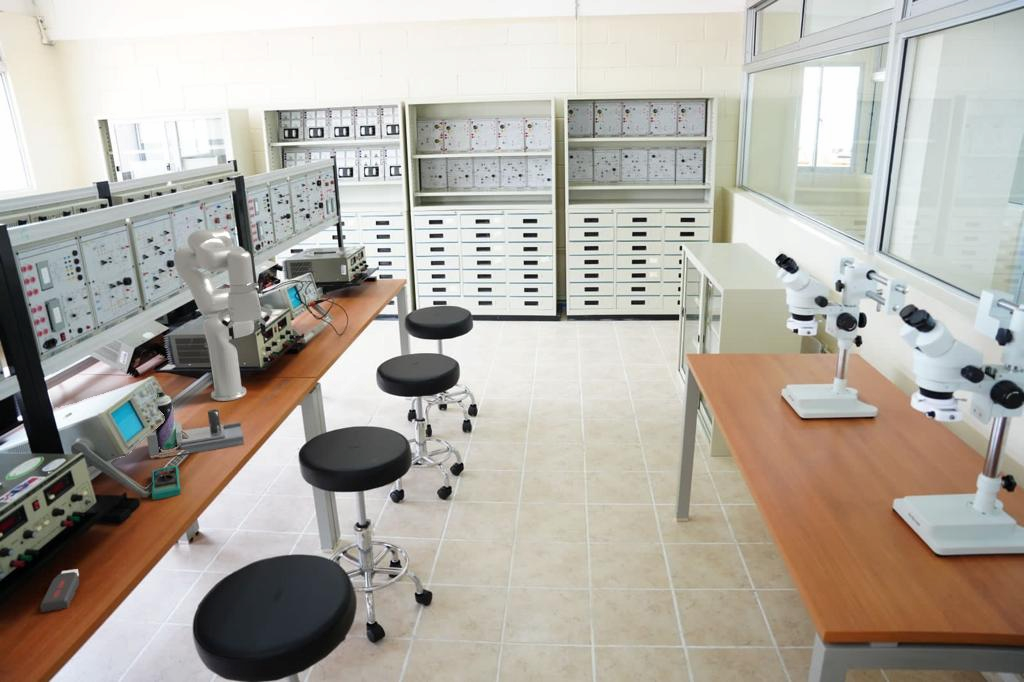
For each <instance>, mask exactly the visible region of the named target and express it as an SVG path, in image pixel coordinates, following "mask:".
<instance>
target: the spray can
mask: <svg viewBox="0 0 1024 682" xmlns="http://www.w3.org/2000/svg"><path fill="white" fill-rule="evenodd" d="M156 395H157V397H156V396H155V397H156V401H155V403H156V404H157V406H158V409H159V410H160V411H161V412H162V413H163V414H164V416H165V421H164V423H163V424H161V425H160V426H159V427H158V428H157V429H156V430H157V436H158V441H159V447H160V449H162V450H169V449H173V448H175V447H177V446H178V445H177V439H176V433H175V431H174V430H175V428H176V421H175V415H174V408H173V403H172V399H171V396H170V395H167V394H165V393H164V391H161V390H158V391H157V392H156Z"/></svg>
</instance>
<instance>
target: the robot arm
mask: <svg viewBox="0 0 1024 682" xmlns="http://www.w3.org/2000/svg"><path fill="white" fill-rule="evenodd" d="M232 243H233V241H232V236H231V234H230V232H228V230H226V229H224V228H222V227H221V228H219V227H218V228H217V227H216V228H208V229H200V230H194V231H193V232H191V234H189V236H188V237H187V245H188V246H187V247H183V248H182V247H181V248H180V249H177V250H176V251H175V252H174V254H173V264H174V267H175V270H176V272H177V274H178V275H179V277H180V278H181V280H182V281H183V282H184V283H185V284H186V286H187V287H188V289H189V291H190V292H191V295H192V298H193V300H194V302H195V304H196V306H197V308H198V309H197V310H198V311H199V313H201V315H203V316H204V317H207V319H205V320H204V322H203V323H202V324H203V325H202V328H203V333H204V336H205V339H206V342H207V345H208V351H209V352H208V353H209V359H210V365H211V366H210V367H211V371H212V372H211V374H212V379H213V387H214V390H213V391H211V393H210V397H211V399H212V400H214V401H218V402H228V401H235V400H237V399H241V398H242V397H244V396H245V395H247V389H246V387H244V386H242V379H241V371H240V363H239V355H238V350H237V347H236V346H235V345H233V343H231V342H230V340H234V339H237V338H242V337H246V336H249V335H252V333H254V331H255V323H254V321H258V322H259V327H260V332H261V333H260V334H261V336H263V337H264V336H265V334H266V332H267V331H266V323H267V322H268V321H269V320H270V319H271V316H272V314H273V310H272V309H269V308H267V307H264V306H261V302H260V298H259V293H258V290H257V288H259V283H258V282H257V283H256V282H254V274H253V273H254V272H253V263H252V257H251V254H250V252H249V251H248V250H247V251H246V250H245V248H243V247H242V246H240V245H239V246H237V245H236V246H234V245H233V244H232ZM199 269H203V270H205V271H207V272H209V273H215V272H216V273H218V272H222V271H223V272H224V271H227V273H228V281H229V287H225V288H219V289H218V288H216V286H215V283H214V281H213V280H212V278H211V277H210V276H208V275H207V274H206V273H204V272H202V271H200V270H199ZM262 312H264V313H266V315H265V316H264V317H262Z"/></svg>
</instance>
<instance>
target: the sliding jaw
mask: <svg viewBox="0 0 1024 682" xmlns="http://www.w3.org/2000/svg"><path fill="white" fill-rule="evenodd" d="M219 412H220V411H219V410H218V409H210V410H207V416H208V417H207V418H208V424H209V426H205V427H204V426H203V427H198V428H191V429H186V430H185V429H184V430H183V428H182V427H183V426H182V422H181V421H179V420H178V421H175V426H176V439H177V445H178V449H181V446H182V445H188V444H194V443H200V442H206V441H212V440H218V439H224V438H225V434H224V427H223V425H224V423H223V424H221V421H220V413H219ZM181 431H183V432H185V433H186V434H187V435H188V436H189V439H182V434H181Z"/></svg>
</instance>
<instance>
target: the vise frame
mask: <svg viewBox="0 0 1024 682" xmlns="http://www.w3.org/2000/svg"><path fill="white" fill-rule="evenodd" d="M223 427H224V434H225V438H224V439H218V440H212V441H206V442H200V443H194V444H188V445H182V446H181V448H179V449H177V450H174V451H168V452H160V453H159V441H158V436H157V430H156V429H155V430H154V431H153V432H152V433H151V434H150V435H149V436H148V437H147V436H146V442H147V446H148V453H149V458H150V457H151V456H154V455H159V456H162V455H167V454H171V453H175V452H178V451H181V450H187V451H188V452H189V453H190V454H193V453H201V452H206V451H211V450H216V449H219V450H220V449H223V448H229V447H235V446H241V445H240V444H242V445H244V444H245V441H244V435H243V430H242V423H241V421H237V422H231V423H226V424H224V423H223Z"/></svg>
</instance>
